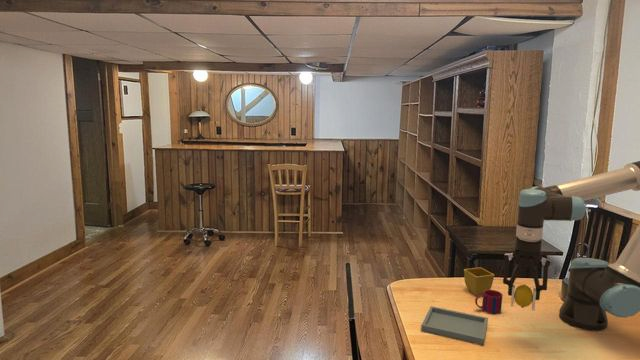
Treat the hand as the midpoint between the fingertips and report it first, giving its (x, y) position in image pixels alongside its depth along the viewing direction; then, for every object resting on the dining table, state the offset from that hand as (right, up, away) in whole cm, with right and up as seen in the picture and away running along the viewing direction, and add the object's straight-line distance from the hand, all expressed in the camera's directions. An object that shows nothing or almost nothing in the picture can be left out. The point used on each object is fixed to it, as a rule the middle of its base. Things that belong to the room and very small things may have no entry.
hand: (522, 306), depth 147 cm
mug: (-3, -8, +23) cm, 24 cm away
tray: (-19, -10, +9) cm, 24 cm away
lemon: (0, -1, 0) cm, 1 cm away
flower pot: (-1, -5, +38) cm, 39 cm away
